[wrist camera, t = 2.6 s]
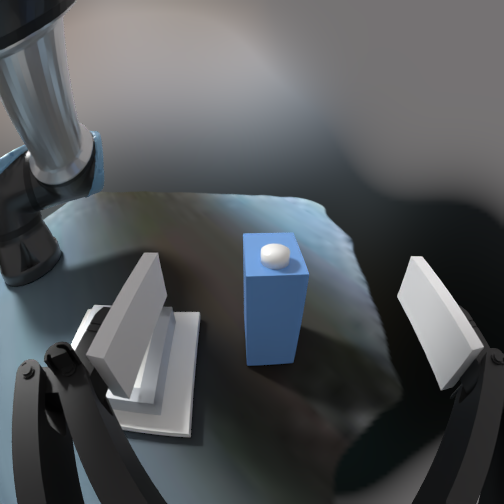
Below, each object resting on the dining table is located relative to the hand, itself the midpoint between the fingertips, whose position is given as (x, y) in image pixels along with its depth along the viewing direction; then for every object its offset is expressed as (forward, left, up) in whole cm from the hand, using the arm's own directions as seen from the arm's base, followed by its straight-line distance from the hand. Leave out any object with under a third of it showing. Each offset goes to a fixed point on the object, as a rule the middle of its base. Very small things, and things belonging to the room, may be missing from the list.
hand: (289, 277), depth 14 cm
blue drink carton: (-10, +1, -17) cm, 19 cm away
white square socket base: (-6, -15, -17) cm, 23 cm away
